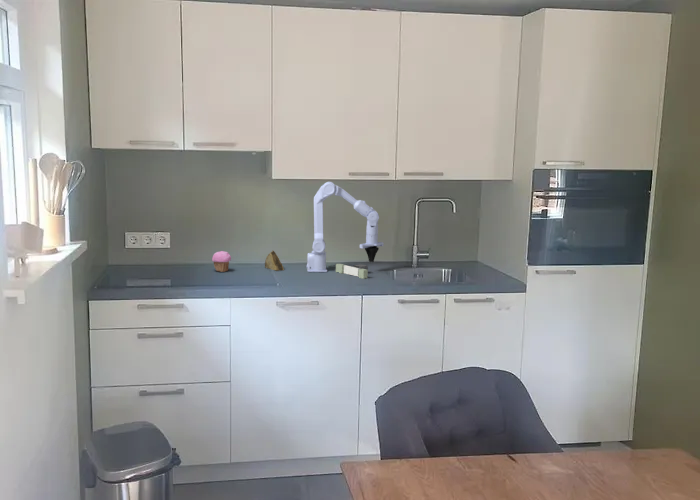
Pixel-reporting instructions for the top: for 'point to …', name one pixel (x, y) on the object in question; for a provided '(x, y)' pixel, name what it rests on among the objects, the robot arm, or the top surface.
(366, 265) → the block
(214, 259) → the cupcake
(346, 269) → the door
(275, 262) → the rock
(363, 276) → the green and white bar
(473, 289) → the top surface
